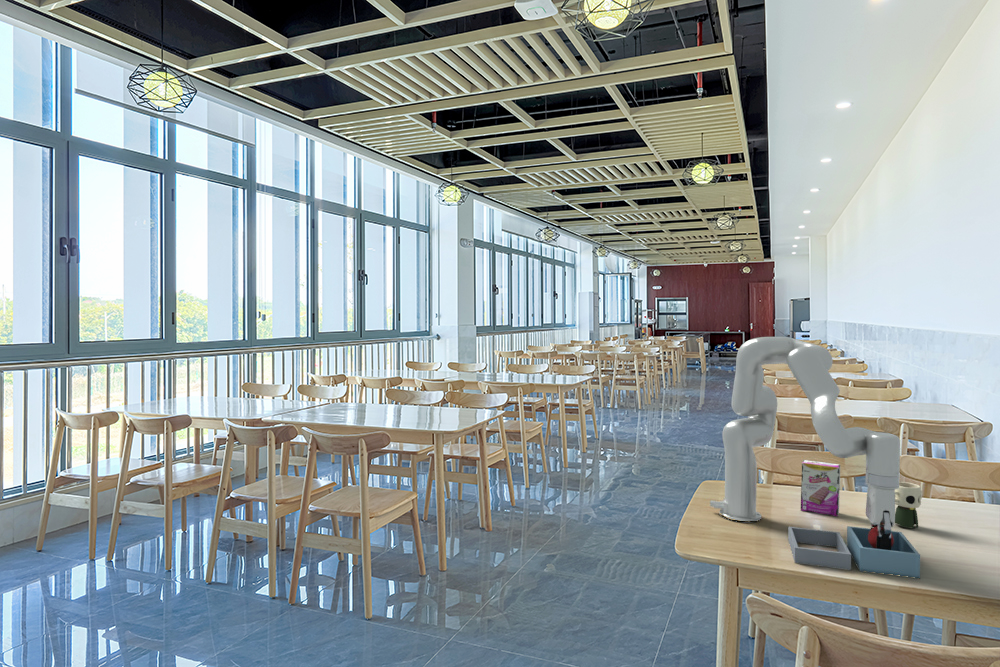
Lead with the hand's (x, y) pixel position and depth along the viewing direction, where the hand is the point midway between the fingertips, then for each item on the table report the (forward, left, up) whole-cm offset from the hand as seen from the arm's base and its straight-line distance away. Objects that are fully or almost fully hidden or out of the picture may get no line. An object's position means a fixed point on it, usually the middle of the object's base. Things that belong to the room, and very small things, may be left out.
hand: (880, 546), depth 160 cm
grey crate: (-15, 0, -4) cm, 15 cm away
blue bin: (0, 0, -4) cm, 4 cm away
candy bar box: (-9, +40, -4) cm, 41 cm away
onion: (0, 0, -2) cm, 2 cm away
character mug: (+14, +34, -4) cm, 37 cm away
